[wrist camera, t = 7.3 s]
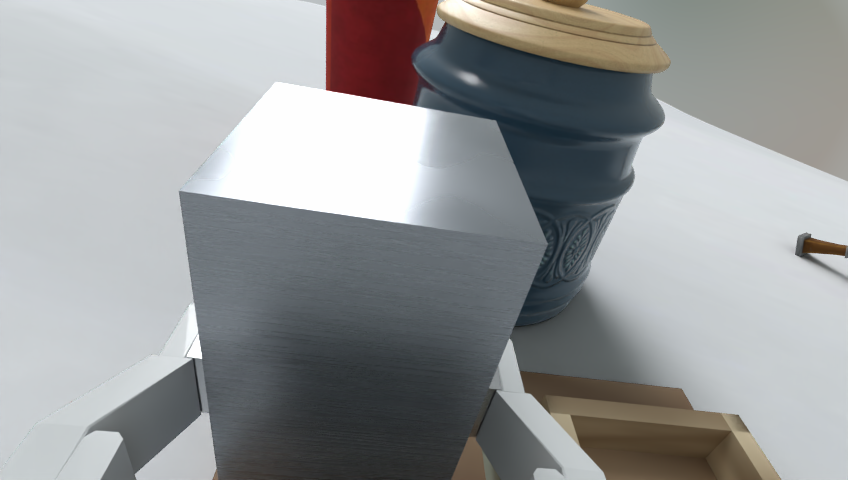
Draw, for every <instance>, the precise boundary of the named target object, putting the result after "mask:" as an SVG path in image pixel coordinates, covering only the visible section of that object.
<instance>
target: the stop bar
mask: <svg viewBox="0 0 848 480" xmlns="http://www.w3.org/2000/svg"><path fill="white" fill-rule="evenodd" d="M179 195H180V202H181V210H182V217H183V224H184V232H185V239H186V246H187V254H188V261H189V268H190V276H191V283H192V290H193V298H194V305H195V312H196V320H197V327H198V335H199V342H200V349H201V357H202V364H203V371H204V379H205V386H206V393H207V401H208V408H209V415H210V423H211V430H212V437H213V445H214V452H215V459H216V467H217V474H218V480H451V479H452V476H453V474H454V472H455V469H456V467H457V464H458V462H459V459H460V457H461V455H462V452H463V450H464V447H465V445H466V442H467V440H468V437H469V435H470V433H471V430H472V428H473V425H474V423H475V420H476V418H477V416H478V413H479V411H480V408H481V406H482V403H483V401H484V399H485V396H486V394H487V391H488V389H489V386H490V384H491V382H492V379H493V377H494V374H495V372H496V369H497V367H498V365H499V362H500V360H501V357H502V355H503V352H504V350H505V348H506V345H507V343H508V340H509V338H510V335H511V333H512V331H513V328H514V326H515V323H516V321H517V318H518V316H519V313H520V311H521V309H522V306H523V304H524V301H525V299H526V296H527V294H528V292H529V289H530V287H531V284H532V282H533V279H534V277H535V275H536V272H537V270H538V267H539V265H540V262H541V260H542V258H543V255H544V253H545V250H546V248H547V245H548V243H547V241H546V238H545V236H544V234H543V231H542V229H541V227H540V224H539V222H538V219H537V217H536V215H535V212H534V210H533V208H532V205H531V203H530V200H529V198H528V196H527V193H526V191H525V188H524V186H523V184H522V181H521V179H520V177H519V174H518V172H517V169H516V167H515V165H514V162H513V160H512V158H511V155H510V153H509V150H508V148H507V146H506V143H505V141H504V139H503V136H502V134H501V131H500V129H499V127H498V124H497V122H496V121H495V120H490V119H484V118H478V117H473V116H467V115H461V114H456V113H450V112H444V111H439V110H433V109H427V108H421V107H416V106H410V105H404V104H399V103H393V102H387V101H382V100H376V99H370V98H365V97H359V96H353V95H348V94H342V93H336V92H330V91H325V90H319V89H313V88H308V87H302V86H296V85H291V84H285V83H279V82H276V83H275V84H274V85H273V86H272V87H271V88H270V89H269V90H268V92H267V93H266V94H265V95H264V96H263V97H262V98H261V99H260V101H259V102H258V103H257V104H256V105H255V106H254V107H253V108H252V110H251V111H250V112H249V113H248V114H247V115H246V116H245V117H244V118H243V120H242V121H241V122H240V123H239V124H238V125H237V126H236V127H235V129H234V130H233V131H232V132H231V133H230V134H229V135H228V136H227V138H226V139H225V140H224V141H223V142H222V143H221V144H220V145H219V146H218V148H217V149H216V150H215V151H214V152H213V153H212V154H211V155H210V157H209V158H208V159H207V160H206V161H205V162H204V163H203V164H202V165H201V167H200V168H199V169H198V170H197V171H196V172H195V173H194V174H193V176H192V177H191V178H190V179H189V180H188V181H187V182H186V183H185V185H184V186H183V187H182V188H181V189H180V190H179Z"/></svg>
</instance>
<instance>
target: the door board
mask: <svg viewBox="0 0 848 480" xmlns="http://www.w3.org/2000/svg"><path fill="white" fill-rule="evenodd" d="M520 375H521V379H522V383H523V387H524V391H525V393H528V394H531V395H532V396H533V397H534V398H535V399H536V400H537V401H538V402H539V403H540V404H541V405H542V407H543V408H544V409H545V410H546V411H547V412H548V413H549V414H550V415H551V416H552V417H553V418H554V419H555V421H556V422H557V423H558V424H559V425H560V426H561V427H562V428H563V429H564V430H565V431H566V432H567V433H568V435H569V436H570V437H571V438H572V439H573V440H574V441H575V442H576V443H577V444H578V445H579V446H580V447H581V449H582V450H583V451H584V452H585V453H586V454H587V455H588V456H589V457H590V458H591V459H592V460H593V462H594V463H595V464H596V465H597V466H598V467H599V468H600V469H601V470H602V471H603V472H604V475H605V478H606V480H781V478H780V477H779V475H778V474H777V472H776V471H775V469H774V468H773V466H772V465H771V463H770V462H769V460H768V459H767V457H766V456H765V454H764V453H763V451H762V450H761V448H760V447H759V445H758V444H757V442H756V441H755V439H754V438H753V436H752V435H751V433H750V432H749V430H748V429H747V427H746V426H745V424H744V423H743V421H742V420H741V418H740V417H739V415H734V414H725V413H715V412H705V411H696V410H694V409H693V408H692V406H691V404H690V402H689V401H688V399H687V397H686V395H685V394H684V392H683V390H682V389H679V388H670V387H661V386H652V385H643V384H633V383H624V382H615V381H606V380H597V379H588V378H579V377H570V376H561V375H552V374H543V373H534V372H524V371H520ZM213 480H218V474H217V469H216V472H215V474H214V477H213ZM451 480H501V479H500V477H499V476H498V474H497V473H496V471H495V469H494V468H493V466H492V465H491V463H490V462H489V460H488V458H487V457H486V455H485V454H484V452H483V450H482V449H481V447H480V446H479V444H478V443H477V441H476V438H475V437H468V440H467V442H466V445H465V447H464V450H463V452H462V455H461V457H460V459H459V462H458V464H457V467H456V469H455V472H454V474H453V476H452V479H451Z"/></svg>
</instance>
